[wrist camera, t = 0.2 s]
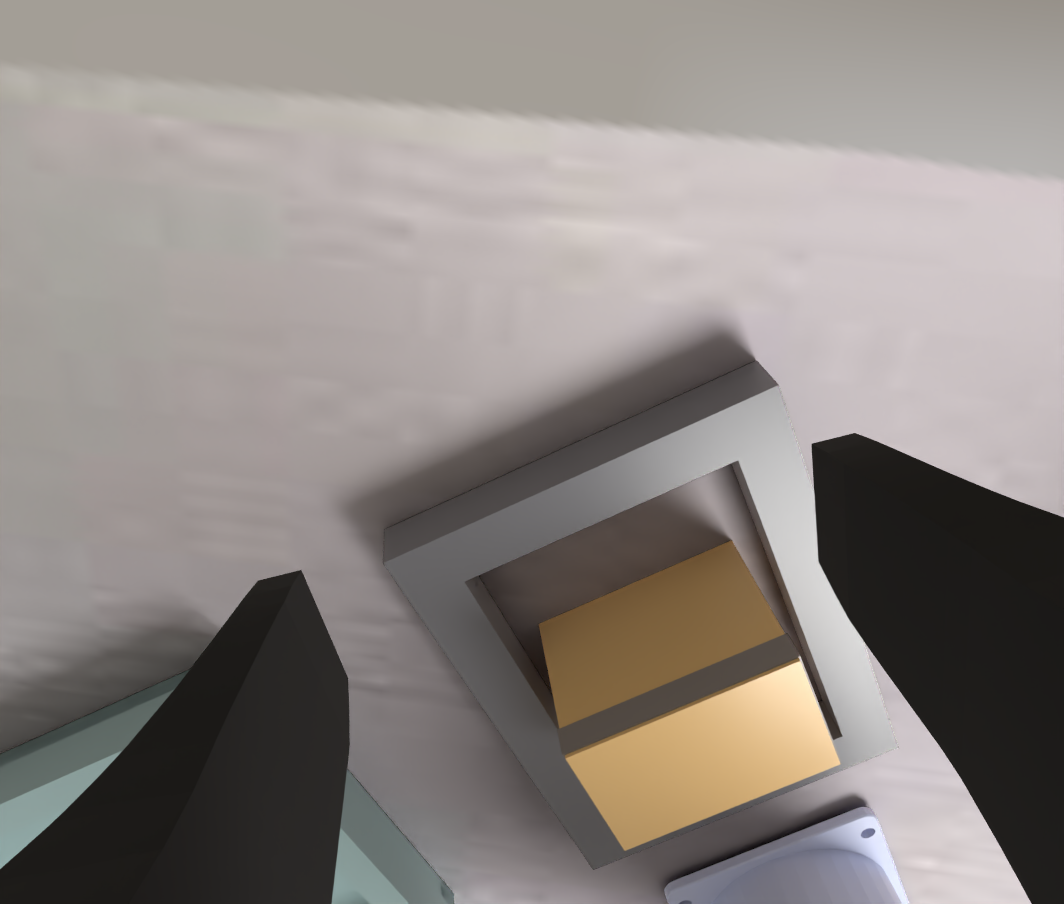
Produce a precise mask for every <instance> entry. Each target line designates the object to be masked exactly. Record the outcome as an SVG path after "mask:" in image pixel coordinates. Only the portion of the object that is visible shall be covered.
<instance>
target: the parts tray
mask: <svg viewBox="0 0 1064 904" xmlns="http://www.w3.org/2000/svg"><path fill="white" fill-rule="evenodd" d="M188 671H189V670H187V671H185V672H183V673H181V674H178V675H176V676H174V677H172V678H170V679H167V680H165V681H163V682H161V683H158V684H156V685H154V686H152V687H149V688H147V689H145V690H143V691H141V692H138V693H136V694H134V695H132V696H129V697H127V698H125V699H123V700H120V701H118V702H116V703H114V704H112V705H109V706H107V707H105V708H103V709H100V710H98V711H96V712H94V713H91V714H89V715H87V716H85V717H82V718H80V719H78V720H76V721H74V722H71V723H69V724H67V725H65V726H62V727H60V728H58V729H56V730H53V731H51V732H49V733H47V734H45V735H42V736H40V737H38V738H36V739H33V740H31V741H29V742H27V743H24V744H22V745H20V746H18V747H16V748H13V749H11V750H9V751H7V752H4V753H2V754H0V869H1V868H2V867H3V866H4V865H5V864H6V863H8V862H9V861H10V860H11V859H12V858H13V857H14V856H15V855H17V854H18V853H19V852H20V851H21V850H22V849H23V848H24V847H26V846H27V845H28V844H29V843H30V842H31V841H32V840H33V839H35V838H36V837H37V836H38V835H39V834H40V833H41V832H42V831H43V830H45V829H46V828H47V827H48V826H49V825H50V824H51V823H52V822H53V821H54V820H55V819H56V818H58V817H59V816H60V815H61V814H62V813H63V812H64V811H65V810H66V809H67V808H68V807H69V806H70V805H71V804H72V803H73V802H74V801H75V800H76V799H77V798H78V797H79V796H80V795H81V794H82V793H83V792H84V791H85V790H86V789H87V788H88V787H89V786H90V785H91V784H92V783H93V782H94V781H95V780H96V779H97V778H98V777H99V776H100V774H101V773H102V772H103V771H104V770H105V769H106V768H107V767H108V766H109V765H110V764H111V763H112V762H113V761H114V760H115V758H116V757H117V756H118V755H119V754H120V753H121V752H122V751H123V750H124V748H125V747H126V746H127V745H128V744H129V743H130V742H131V740H132V739H133V738H134V737H135V736H136V734H137V733H138V732H139V731H140V730H141V729H142V727H143V726H144V725H145V724H146V723H147V721H148V720H149V719H150V718H151V717H152V715H153V714H154V713H155V712H156V711H157V710H158V708H159V707H160V706H161V705H162V704H163V702H164V701H165V700H166V699H167V698H168V696H169V695H170V694H171V693H172V692H173V691H174V689H175V688H176V687H177V686H178V684H179V683H180V682H181V681H182V679H183V678H184V677H185V675H186V674H187V673H188ZM332 904H454V894H453V893H452V891H451V890H450V889H449V888H448V887H447V886H446V884H445V883H444V882H443V881H442V880H441V878H440V877H439V876H438V875H437V874H436V873H435V871H434V870H433V869H432V868H431V867H430V866H429V864H428V863H427V862H426V861H425V860H424V859H423V857H422V856H421V855H420V854H419V853H418V851H417V850H416V849H415V848H414V847H413V846H412V844H411V843H410V842H409V841H408V840H407V839H406V837H405V836H404V835H403V834H402V833H401V832H400V830H399V829H398V828H397V827H396V826H395V824H394V823H393V822H392V821H391V820H390V819H389V817H388V816H387V815H386V814H385V813H384V812H383V810H382V809H381V808H380V807H379V806H378V804H377V803H376V802H375V801H374V800H373V799H372V797H371V796H370V795H369V794H368V793H367V792H366V790H365V789H364V788H363V787H362V786H361V785H360V783H359V782H358V781H357V780H356V779H355V777H354V776H353V775H352V774H351V773H350V772H349V770H348V769H347V774H346V783H345V792H344V801H343V810H342V818H341V827H340V835H339V844H338V852H337V861H336V870H335V878H334V887H333V895H332Z"/></svg>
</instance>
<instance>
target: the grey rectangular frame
mask: <svg viewBox="0 0 1064 904" xmlns="http://www.w3.org/2000/svg"><path fill="white" fill-rule="evenodd" d="M729 464H732V467H733V469H734V472H735V474H736V477H737V480H738V482H739V485H740V487H741V490H742V493H743V495H744V498H745V500H746V503H747V506H748V508H749V511H750V513H751V516H752V519H753V521H754V524H755V526H756V529H757V532H758V534H759V537H760V539H761V542H762V545H763V547H764V550H765V552H766V555H767V558H768V560H769V563H770V565H771V568H772V571H773V573H774V576H775V578H776V581H777V584H778V586H779V589H780V591H781V594H782V597H783V599H784V602H785V604H786V607H787V610H788V612H789V615H790V617H791V620H792V623H793V625H794V628H795V630H796V633H797V636H798V638H799V641H800V643H801V646H802V649H803V651H804V654H805V656H806V659H807V662H808V664H809V667H810V669H811V672H812V675H813V677H814V680H815V682H816V685H817V688H818V690H819V693H820V695H821V698H822V701H821V702H818V703H819V705H820V708H821V711H822V713H823V716H824V718H825V721H826V723H827V726H828V729H829V731H830V734H831V736H832V739H833V742H834V744H835V747H836V749H837V752H838V754H839V757H840V760H841V762H840V765H838V766H835V767H833V768H830V769H828V770H825V771H823V772H820V773H818V774H815V775H813V776H810V777H808V778H805V779H803V780H800V781H798V782H795V783H793V784H790V785H788V786H785V787H783V788H780V789H778V790H775V791H773V792H770V793H768V794H765V795H763V796H760V797H758V798H755V799H753V800H750V801H748V802H745V803H743V804H740V805H738V806H735V807H733V808H730V809H728V810H725V811H723V812H720V813H718V814H716V815H713V816H711V817H708V818H706V819H703V820H701V821H698V822H696V823H693V824H691V825H688V826H686V827H683V828H681V829H678V830H676V831H673V832H671V833H668V834H666V835H663V836H661V837H658V838H656V839H653V840H651V841H648V842H646V843H643V844H641V845H638V846H636V847H633V848H631V849H628V850H626V851H625V850H624V849H622V847H621V846H620V844H619V843H618V841H617V839H616V838H615V836H614V835H613V833H612V832H611V830H610V829H609V827H608V825H607V824H606V822H605V821H604V819H603V818H602V816H601V815H600V813H599V811H598V810H597V808H596V807H595V805H594V804H593V802H592V801H591V799H590V797H589V796H588V794H587V793H586V791H585V790H584V788H583V787H582V785H581V783H580V782H579V780H578V779H577V777H576V776H575V774H574V773H573V771H572V769H571V768H570V766H569V765H568V763H567V762H566V760H565V759H564V757H563V755H562V752H561V747H560V742H559V737H558V732H557V729H559V724H558V719H557V714H556V709H555V704H554V699H553V696H552V694H551V692H550V691H549V689H548V688H547V686H546V684H545V683H544V681H543V680H542V678H541V676H540V675H539V673H538V671H537V670H536V668H535V667H534V665H533V663H532V662H531V660H530V658H529V657H528V655H527V654H526V652H525V650H524V649H523V647H522V646H521V644H520V642H519V641H518V639H517V637H516V636H515V634H514V633H513V631H512V629H511V628H510V626H509V625H508V623H507V621H506V620H505V618H504V616H503V615H502V613H501V612H500V610H499V608H498V607H497V605H496V603H495V602H494V600H493V599H492V597H491V595H490V594H489V592H488V591H487V589H486V587H485V586H484V584H483V582H482V581H481V579H480V578H479V576H478V575H481V574H483V573H485V572H487V571H490V570H492V569H494V568H496V567H499V566H501V565H503V564H506V563H508V562H510V561H512V560H515V559H517V558H519V557H521V556H524V555H526V554H528V553H530V552H533V551H535V550H537V549H539V548H542V547H544V546H546V545H548V544H551V543H553V542H555V541H557V540H560V539H562V538H564V537H566V536H569V535H571V534H573V533H575V532H578V531H580V530H582V529H584V528H587V527H589V526H591V525H593V524H596V523H598V522H600V521H602V520H605V519H607V518H609V517H612V516H614V515H616V514H618V513H621V512H623V511H625V510H627V509H630V508H632V507H634V506H636V505H639V504H641V503H643V502H645V501H648V500H650V499H652V498H654V497H657V496H659V495H661V494H663V493H666V492H668V491H670V490H672V489H675V488H677V487H679V486H681V485H684V484H686V483H688V482H690V481H693V480H695V479H697V478H699V477H702V476H704V475H706V474H708V473H711V472H713V471H715V470H717V469H720V468H722V467H724V466H727V465H729ZM383 564H384V566H385V567H386V569H387V570H388V571H389V573H390V574H391V576H392V577H393V579H394V580H395V582H396V583H397V585H398V586H399V587H400V589H401V590H402V592H403V593H404V595H405V596H406V598H407V599H408V601H409V602H410V603H411V605H412V606H413V608H414V609H415V611H416V612H417V614H418V615H419V617H420V618H421V620H422V621H423V622H424V624H425V625H426V627H427V628H428V630H429V631H430V633H431V634H432V636H433V637H434V638H435V640H436V641H437V643H438V644H439V646H440V647H441V649H442V650H443V652H444V653H445V654H446V656H447V657H448V659H449V660H450V662H451V663H452V665H453V666H454V668H455V669H456V670H457V672H458V673H459V675H460V676H461V678H462V679H463V681H464V682H465V684H466V685H467V687H468V688H469V689H470V691H471V692H472V694H473V695H474V697H475V698H476V700H477V701H478V703H479V704H480V705H481V707H482V708H483V710H484V711H485V713H486V714H487V716H488V717H489V719H490V720H491V721H492V723H493V724H494V726H495V727H496V729H497V730H498V732H499V733H500V735H501V736H502V737H503V739H504V740H505V742H506V743H507V745H508V746H509V748H510V749H511V751H512V752H513V753H514V755H515V756H516V758H517V759H518V761H519V762H520V764H521V765H522V767H523V768H524V770H525V771H526V772H527V774H528V775H529V777H530V778H531V780H532V781H533V783H534V784H535V786H536V787H537V788H538V790H539V791H540V793H541V794H542V796H543V797H544V799H545V800H546V802H547V803H548V804H549V806H550V807H551V809H552V810H553V812H554V813H555V815H556V816H557V818H558V819H559V820H560V822H561V823H562V825H563V826H564V828H565V829H566V831H567V832H568V834H569V835H570V837H571V838H572V839H573V841H574V842H575V844H576V845H577V847H578V848H579V850H580V851H581V853H582V854H583V855H584V857H585V858H586V860H587V861H588V863H589V864H590V866H591V867H592V869H593V870H594V869H597V868H599V867H602V866H604V865H607V864H609V863H612V862H614V861H617V860H619V859H622V858H624V857H627V856H629V855H632V854H634V853H637V852H639V851H642V850H644V849H647V848H649V847H652V846H654V845H657V844H659V843H662V842H664V841H667V840H669V839H672V838H674V837H677V836H679V835H682V834H684V833H687V832H689V831H692V830H694V829H697V828H699V827H702V826H704V825H707V824H709V823H712V822H714V821H717V820H719V819H722V818H724V817H727V816H729V815H732V814H734V813H737V812H739V811H742V810H744V809H747V808H749V807H752V806H754V805H757V804H759V803H762V802H764V801H767V800H769V799H772V798H774V797H777V796H779V795H782V794H784V793H787V792H789V791H792V790H794V789H797V788H799V787H802V786H804V785H807V784H809V783H812V782H814V781H817V780H819V779H822V778H824V777H827V776H829V775H832V774H834V773H837V772H839V771H842V770H844V769H847V768H849V767H852V766H854V765H857V764H859V763H862V762H864V761H867V760H869V759H872V758H874V757H877V756H879V755H882V754H884V753H887V752H889V751H892V750H894V749H897V748H899V746H898V743H897V740H896V737H895V734H894V731H893V728H892V725H891V722H890V719H889V716H888V713H887V710H886V707H885V704H884V701H883V698H882V695H881V692H880V689H879V686H878V683H877V680H876V677H875V674H874V671H873V668H872V665H871V662H870V659H869V656H868V653H867V650H866V647H865V644H864V641H863V639H862V638H861V636H860V635H859V633H858V632H857V631H856V629H855V628H854V626H853V625H852V623H851V622H850V621H849V619H848V617H847V615H846V613H845V611H844V610H843V608H842V606H841V604H840V602H839V600H838V599H837V597H836V595H835V593H834V591H833V589H832V587H831V585H830V583H829V581H828V579H827V577H826V575H825V574H824V572H823V570H822V568H821V566H820V564H819V562H818V546H817V529H816V512H815V495H814V490H813V487H812V484H811V481H810V478H809V475H808V472H807V469H806V466H805V463H804V460H803V457H802V453H801V450H800V447H799V444H798V441H797V438H796V435H795V432H794V429H793V426H792V423H791V420H790V417H789V414H788V411H787V408H786V405H785V402H784V399H783V396H782V393H781V390H780V387H779V385H778V384H777V382H776V381H775V380H774V379H773V378H772V377H771V376H770V375H769V374H768V372H767V371H766V370H765V369H764V368H763V367H762V366H761V365H760V364H759V362H758V361H757V360H756V361H754V362H752V363H750V364H748V365H745V366H743V367H741V368H739V369H737V370H734V371H732V372H730V373H728V374H726V375H723V376H721V377H719V378H717V379H715V380H712V381H710V382H708V383H706V384H704V385H701V386H699V387H697V388H695V389H693V390H690V391H688V392H686V393H684V394H682V395H679V396H677V397H675V398H673V399H671V400H668V401H666V402H664V403H662V404H660V405H657V406H655V407H653V408H651V409H649V410H646V411H644V412H642V413H640V414H638V415H635V416H633V417H631V418H629V419H627V420H624V421H622V422H620V423H618V424H616V425H613V426H611V427H609V428H607V429H605V430H602V431H600V432H598V433H596V434H594V435H591V436H589V437H587V438H585V439H583V440H581V441H578V442H576V443H574V444H572V445H570V446H567V447H565V448H563V449H561V450H559V451H556V452H554V453H552V454H550V455H548V456H545V457H543V458H541V459H539V460H537V461H534V462H532V463H530V464H528V465H526V466H523V467H521V468H519V469H517V470H515V471H512V472H510V473H508V474H506V475H504V476H501V477H499V478H497V479H495V480H493V481H490V482H488V483H486V484H484V485H482V486H479V487H477V488H475V489H473V490H471V491H468V492H466V493H464V494H462V495H460V496H457V497H455V498H453V499H451V500H449V501H446V502H444V503H442V504H440V505H438V506H435V507H433V508H431V509H429V510H427V511H424V512H422V513H420V514H418V515H416V516H413V517H411V518H409V519H407V520H405V521H402V522H400V523H398V524H396V525H394V526H391V527H389V528H387V529H385V530H384V551H383Z"/></svg>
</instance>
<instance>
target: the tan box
mask: <svg viewBox="0 0 1064 904" xmlns="http://www.w3.org/2000/svg"><path fill="white" fill-rule="evenodd" d="M539 629H540V634H541V639H542V644H543V649H544V654H545V659H546V664H547V669H548V674H549V679H550V684H551V689H552V694H553V699H554V704H555V709H556V714H557V719H558V724H559V729H557V732H558V737H559V742H560V747H561V752H562V755H563V757H564V759H565V760H566V762H567V763H568V765H569V766H570V768H571V769H572V771H573V773H574V774H575V776H576V777H577V779H578V780H579V782H580V783H581V785H582V787H583V788H584V790H585V791H586V793H587V794H588V796H589V797H590V799H591V801H592V802H593V804H594V805H595V807H596V808H597V810H598V811H599V813H600V815H601V816H602V818H603V819H604V821H605V822H606V824H607V825H608V827H609V829H610V830H611V832H612V833H613V835H614V836H615V838H616V839H617V841H618V843H619V844H620V846H621V847H622V849H624V850H625V851H626V850H628V849H631V848H633V847H636V846H638V845H641V844H643V843H646V842H648V841H651V840H653V839H656V838H658V837H661V836H663V835H666V834H668V833H671V832H673V831H676V830H678V829H681V828H683V827H686V826H688V825H691V824H693V823H696V822H698V821H701V820H703V819H706V818H708V817H711V816H713V815H716V814H718V813H720V812H723V811H725V810H728V809H730V808H733V807H735V806H738V805H740V804H743V803H745V802H748V801H750V800H753V799H755V798H758V797H760V796H763V795H765V794H768V793H770V792H773V791H775V790H778V789H780V788H783V787H785V786H788V785H790V784H793V783H795V782H798V781H800V780H803V779H805V778H808V777H810V776H813V775H815V774H818V773H820V772H823V771H825V770H828V769H830V768H833V767H835V766H838V765H840V762H841V760H840V757H839V754H838V752H837V749H836V747H835V744H834V742H833V739H832V736H831V734H830V731H829V729H828V726H827V723H826V721H825V718H824V716H823V713H822V711H821V708H820V705H819V703H818V700H817V698H816V695H815V693H814V690H813V687H812V685H811V682H810V680H809V677H808V675H807V672H806V669H805V667H804V664H803V662H802V659H801V657H800V655H799V653H798V651H797V649H796V648H795V646H794V644H793V642H792V641H791V639H790V637H789V635H788V634H787V633H786V634H785V633H784V631H783V629H782V628H781V626H780V624H779V622H778V621H777V619H776V617H775V615H774V614H773V612H772V610H771V608H770V607H769V605H768V603H767V601H766V600H765V598H764V596H763V594H762V593H761V591H760V589H759V587H758V586H757V584H756V582H755V580H754V579H753V577H752V575H751V573H750V572H749V570H748V568H747V566H746V565H745V563H744V561H743V559H742V558H741V556H740V554H739V552H738V551H737V549H736V547H735V545H734V543H733V542H732V540H731V541H729V542H726V543H724V544H722V545H719V546H717V547H715V548H713V549H710V550H708V551H706V552H703V553H701V554H699V555H696V556H694V557H692V558H689V559H687V560H685V561H683V562H680V563H678V564H676V565H673V566H671V567H669V568H666V569H664V570H662V571H660V572H657V573H655V574H653V575H650V576H648V577H646V578H643V579H641V580H639V581H636V582H634V583H632V584H630V585H627V586H625V587H623V588H620V589H618V590H616V591H613V592H611V593H609V594H607V595H604V596H602V597H600V598H597V599H595V600H593V601H590V602H588V603H586V604H583V605H581V606H579V607H577V608H574V609H572V610H570V611H567V612H565V613H563V614H560V615H558V616H556V617H554V618H551V619H549V620H547V621H544V622H542V623H540V624H539Z"/></svg>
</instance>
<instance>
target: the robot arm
mask: <svg viewBox="0 0 1064 904" xmlns="http://www.w3.org/2000/svg"><path fill="white" fill-rule="evenodd" d="M812 460H813V477H814V495H815V512H816V529H817V546H818V562H819V564H820V566H821V568H822V570H823V572H824V574H825V575H826V577H827V579H828V581H829V583H830V585H831V587H832V589H833V591H834V593H835V595H836V597H837V599H838V600H839V602H840V604H841V606H842V608H843V610H844V611H845V613H846V615H847V617H848V619H849V621H850V622H851V623H852V625H853V626H854V628H855V629H856V631H857V632H858V633H859V635H860V636H861V638H862V639H863V641H864V642H865V643H866V645H867V646H868V648H869V649H870V650H871V652H872V653H873V655H874V656H875V657H876V659H877V660H878V662H879V663H880V664H881V666H882V667H883V669H884V670H885V671H886V673H887V674H888V675H889V677H890V678H891V680H892V681H893V682H894V684H895V685H896V686H897V688H898V689H899V691H900V692H901V693H902V695H903V696H904V698H905V699H906V700H907V702H908V703H909V704H910V706H911V707H912V709H913V710H914V711H915V713H916V714H917V715H918V717H919V718H920V720H921V721H922V722H923V724H924V725H925V727H926V728H927V729H928V731H929V732H930V733H931V735H932V736H933V738H934V739H935V740H936V742H937V743H938V744H939V746H940V747H941V749H942V750H943V752H944V753H945V755H946V756H947V758H948V759H949V761H950V762H951V764H952V765H953V767H954V768H955V770H956V771H957V773H958V774H959V776H960V777H961V779H962V781H963V783H964V784H965V786H966V788H967V789H968V791H969V793H970V795H971V796H972V798H973V800H974V802H975V803H976V805H977V807H978V809H979V810H980V812H981V814H982V815H983V817H984V819H985V821H986V822H987V824H988V826H989V828H990V829H991V831H992V833H993V835H994V836H995V838H996V840H997V841H998V843H999V845H1000V847H1001V849H1002V850H1003V852H1004V854H1005V856H1006V858H1007V859H1008V861H1009V863H1010V865H1011V867H1012V869H1013V870H1014V872H1015V874H1016V876H1017V878H1018V879H1019V881H1020V883H1021V885H1022V887H1023V889H1024V890H1025V892H1026V894H1027V896H1028V898H1029V900H1030V901H1031V903H1032V904H1064V517H1061V516H1058V515H1055V514H1052V513H1050V512H1047V511H1044V510H1041V509H1039V508H1036V507H1033V506H1030V505H1027V504H1025V503H1022V502H1019V501H1017V500H1014V499H1011V498H1009V497H1006V496H1004V495H1001V494H999V493H996V492H994V491H991V490H989V489H986V488H984V487H981V486H979V485H976V484H974V483H972V482H969V481H967V480H964V479H962V478H960V477H957V476H955V475H953V474H950V473H948V472H946V471H943V470H941V469H939V468H936V467H934V466H932V465H930V464H927V463H925V462H923V461H920V460H918V459H916V458H914V457H911V456H909V455H907V454H905V453H902V452H900V451H898V450H895V449H893V448H891V447H888V446H886V445H884V444H881V443H879V442H877V441H874V440H872V439H869V438H867V437H864V436H861V435H859V434H856V433H853V434H849V435H845V436H841V437H837V438H833V439H829V440H825V441H821V442H817V443H813V444H812ZM349 745H350V743H349V693H348V677H347V675H346V673H345V670H344V668H343V666H342V663H341V661H340V659H339V656H338V654H337V652H336V649H335V647H334V645H333V642H332V640H331V638H330V635H329V633H328V631H327V629H326V626H325V624H324V622H323V619H322V617H321V615H320V612H319V610H318V608H317V605H316V603H315V601H314V598H313V596H312V594H311V592H310V589H309V587H308V585H307V582H306V580H305V578H304V575H303V573H302V571H301V570H300V571H296V572H292V573H287V574H283V575H279V576H275V577H271V578H267V579H263V580H259V581H258V582H257V583H256V584H255V585H254V586H253V588H252V589H251V590H250V591H249V592H248V594H247V595H246V596H245V598H244V599H243V600H242V601H241V603H240V604H239V605H238V607H237V608H236V609H235V611H234V612H233V613H232V615H231V616H230V617H229V619H228V620H227V621H226V623H225V624H224V625H223V627H222V628H221V629H220V631H219V632H218V633H217V635H216V636H215V637H214V639H213V640H212V641H211V643H210V644H209V645H208V647H207V648H206V649H205V651H204V652H203V653H202V654H201V656H200V657H199V658H198V660H197V661H196V662H195V664H194V665H193V666H192V668H191V669H190V670H189V671H188V673H187V674H186V675H185V677H184V678H183V679H182V681H181V682H180V683H179V684H178V686H177V687H176V688H175V689H174V691H173V692H172V693H171V694H170V695H169V696H168V698H167V699H166V700H165V701H164V702H163V704H162V705H161V706H160V707H159V708H158V710H157V711H156V712H155V713H154V714H153V715H152V717H151V718H150V719H149V720H148V721H147V723H146V724H145V725H144V726H143V727H142V729H141V730H140V731H139V732H138V733H137V734H136V736H135V737H134V738H133V739H132V740H131V742H130V743H129V744H128V745H127V746H126V747H125V748H124V750H123V751H122V752H121V753H120V754H119V755H118V756H117V757H116V758H115V760H114V761H113V762H112V763H111V764H110V765H109V766H108V767H107V768H106V769H105V770H104V771H103V772H102V773H101V774H100V776H99V777H98V778H97V779H96V780H95V781H94V782H93V783H92V784H91V785H90V786H89V787H88V788H87V789H86V790H85V791H84V792H83V793H82V794H81V795H80V796H79V797H78V798H77V799H76V800H75V801H74V802H73V803H72V804H71V805H70V806H69V807H68V808H67V809H66V810H65V811H64V812H63V813H62V814H61V815H60V816H59V817H58V818H56V819H55V820H54V821H53V822H52V823H51V824H50V825H49V826H48V827H47V828H46V829H45V830H43V831H42V832H41V833H40V834H39V835H38V836H37V837H36V838H35V839H33V840H32V841H31V842H30V843H29V844H28V845H27V846H26V847H24V848H23V849H22V850H21V851H20V852H19V853H18V854H17V855H15V856H14V857H13V858H12V859H11V860H10V861H9V862H8V863H6V864H5V865H4V866H3V867H2V868H1V869H0V904H332V895H333V887H334V878H335V870H336V861H337V852H338V844H339V835H340V827H341V818H342V810H343V801H344V792H345V783H346V774H347V765H348V755H349ZM664 892H665V896H666V900H667V902H668V904H910V903H909V901H908V898H907V895H906V893H905V890H904V887H903V885H902V882H901V879H900V877H899V874H898V871H897V869H896V866H895V863H894V861H893V858H892V855H891V853H890V850H889V847H888V845H887V842H886V839H885V837H884V834H883V831H882V829H881V826H880V823H879V821H878V818H877V816H876V815H875V813H874V811H873V810H872V809H871V808H868V807H860V808H856V809H854V810H851V811H849V812H846V813H843V814H841V815H838V816H836V817H833V818H831V819H828V820H826V821H823V822H821V823H818V824H816V825H813V826H811V827H808V828H805V829H803V830H800V831H798V832H795V833H793V834H790V835H788V836H785V837H783V838H780V839H778V840H775V841H773V842H770V843H768V844H765V845H762V846H760V847H757V848H755V849H752V850H750V851H747V852H745V853H742V854H740V855H737V856H735V857H732V858H730V859H727V860H724V861H722V862H719V863H717V864H714V865H712V866H709V867H707V868H704V869H702V870H699V871H697V872H694V873H692V874H689V875H686V876H684V877H681V878H679V879H676V880H674V881H672V882H670V883H669V884H668V885H667V886H666V887H665V889H664Z"/></svg>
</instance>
